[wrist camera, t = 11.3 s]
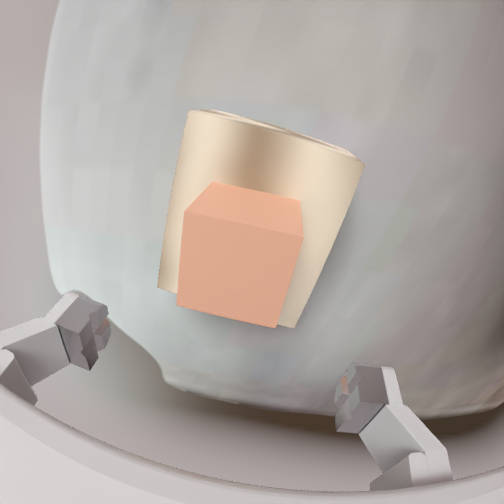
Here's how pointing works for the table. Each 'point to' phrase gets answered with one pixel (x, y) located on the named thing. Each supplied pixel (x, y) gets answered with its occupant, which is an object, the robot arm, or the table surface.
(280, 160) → the birch block
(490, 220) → the table surface
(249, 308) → the terracotta cube
